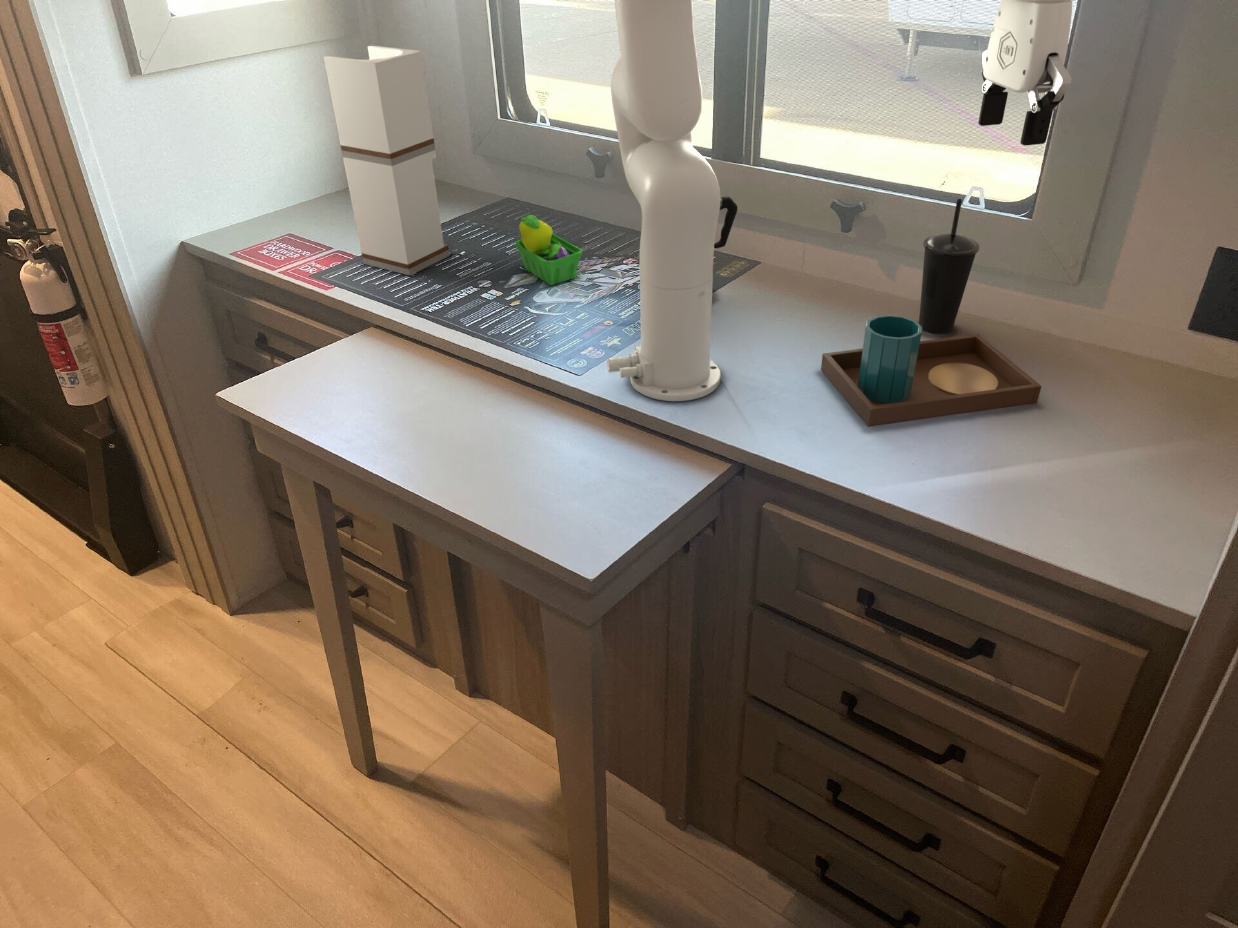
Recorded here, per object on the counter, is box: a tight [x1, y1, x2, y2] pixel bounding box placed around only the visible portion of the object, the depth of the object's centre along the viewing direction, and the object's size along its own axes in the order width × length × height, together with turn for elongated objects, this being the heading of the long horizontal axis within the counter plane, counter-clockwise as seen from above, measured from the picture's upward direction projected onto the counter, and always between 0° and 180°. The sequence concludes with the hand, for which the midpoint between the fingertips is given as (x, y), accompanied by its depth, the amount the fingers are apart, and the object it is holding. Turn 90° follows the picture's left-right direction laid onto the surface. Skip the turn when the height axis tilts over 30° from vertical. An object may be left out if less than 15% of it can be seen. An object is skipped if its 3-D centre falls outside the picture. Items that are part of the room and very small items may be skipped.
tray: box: [820, 333, 1043, 428], centre depth 123 cm, size 24×16×3 cm, turn 102°
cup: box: [858, 314, 923, 404], centre depth 120 cm, size 7×7×10 cm
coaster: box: [928, 363, 998, 395], centre depth 125 cm, size 9×9×1 cm
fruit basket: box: [514, 214, 583, 286], centre depth 157 cm, size 11×9×11 cm
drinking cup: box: [918, 198, 981, 335], centre depth 133 cm, size 8×8×20 cm
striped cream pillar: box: [323, 45, 451, 276], centre depth 158 cm, size 11×11×35 cm
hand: (1010, 134), depth 117 cm, fingers open, 9 cm apart
